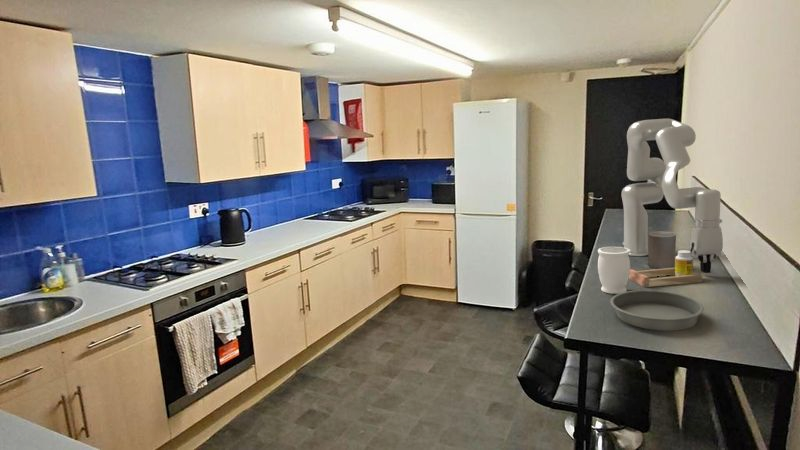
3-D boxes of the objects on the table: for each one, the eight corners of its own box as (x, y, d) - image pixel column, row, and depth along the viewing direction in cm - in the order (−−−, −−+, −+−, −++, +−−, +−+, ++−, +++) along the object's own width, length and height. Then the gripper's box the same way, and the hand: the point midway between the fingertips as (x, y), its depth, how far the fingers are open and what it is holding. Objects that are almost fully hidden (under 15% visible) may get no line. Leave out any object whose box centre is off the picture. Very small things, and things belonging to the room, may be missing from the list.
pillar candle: (642, 265, 190) (642, 230, 187) (661, 261, 193) (662, 226, 190) (661, 271, 181) (662, 234, 178) (681, 267, 183) (682, 231, 181)
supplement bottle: (687, 281, 167) (688, 254, 165) (671, 278, 172) (672, 251, 170) (695, 277, 170) (696, 251, 168) (679, 275, 175) (680, 248, 173)
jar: (605, 284, 171) (604, 245, 169) (634, 288, 164) (634, 248, 161) (593, 292, 164) (592, 251, 162) (623, 297, 157) (623, 254, 154)
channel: (627, 278, 176) (627, 269, 175) (681, 273, 177) (681, 264, 176) (644, 287, 165) (645, 277, 164) (702, 281, 165) (702, 272, 165)
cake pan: (618, 298, 157) (618, 286, 156) (705, 309, 142) (705, 295, 142) (602, 325, 137) (602, 310, 136) (701, 339, 123) (701, 324, 122)
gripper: (719, 220, 172) (717, 267, 175) (680, 223, 171) (679, 271, 174) (734, 223, 164) (732, 272, 167) (693, 227, 164) (692, 276, 167)
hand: (705, 271), depth 171 cm, fingers closed
